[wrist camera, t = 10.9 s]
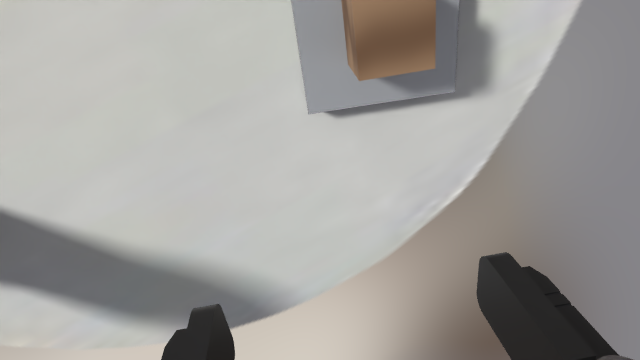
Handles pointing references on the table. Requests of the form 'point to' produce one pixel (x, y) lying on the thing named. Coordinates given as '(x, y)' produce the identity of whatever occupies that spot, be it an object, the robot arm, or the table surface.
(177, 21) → the table surface
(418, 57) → the walnut cube
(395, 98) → the stone coaster
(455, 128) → the table surface
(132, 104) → the table surface
